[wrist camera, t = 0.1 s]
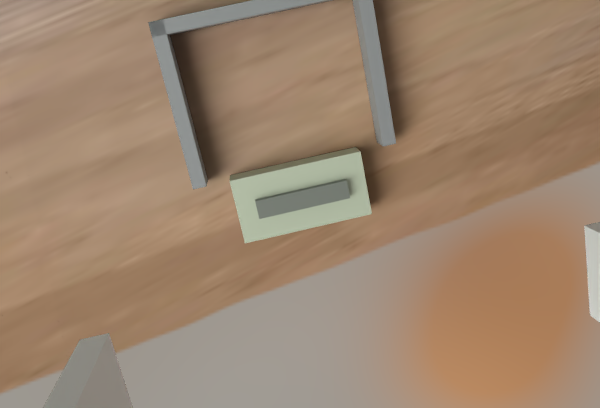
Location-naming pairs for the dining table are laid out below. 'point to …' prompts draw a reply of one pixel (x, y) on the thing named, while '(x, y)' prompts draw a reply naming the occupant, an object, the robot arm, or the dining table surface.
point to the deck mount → (296, 174)
